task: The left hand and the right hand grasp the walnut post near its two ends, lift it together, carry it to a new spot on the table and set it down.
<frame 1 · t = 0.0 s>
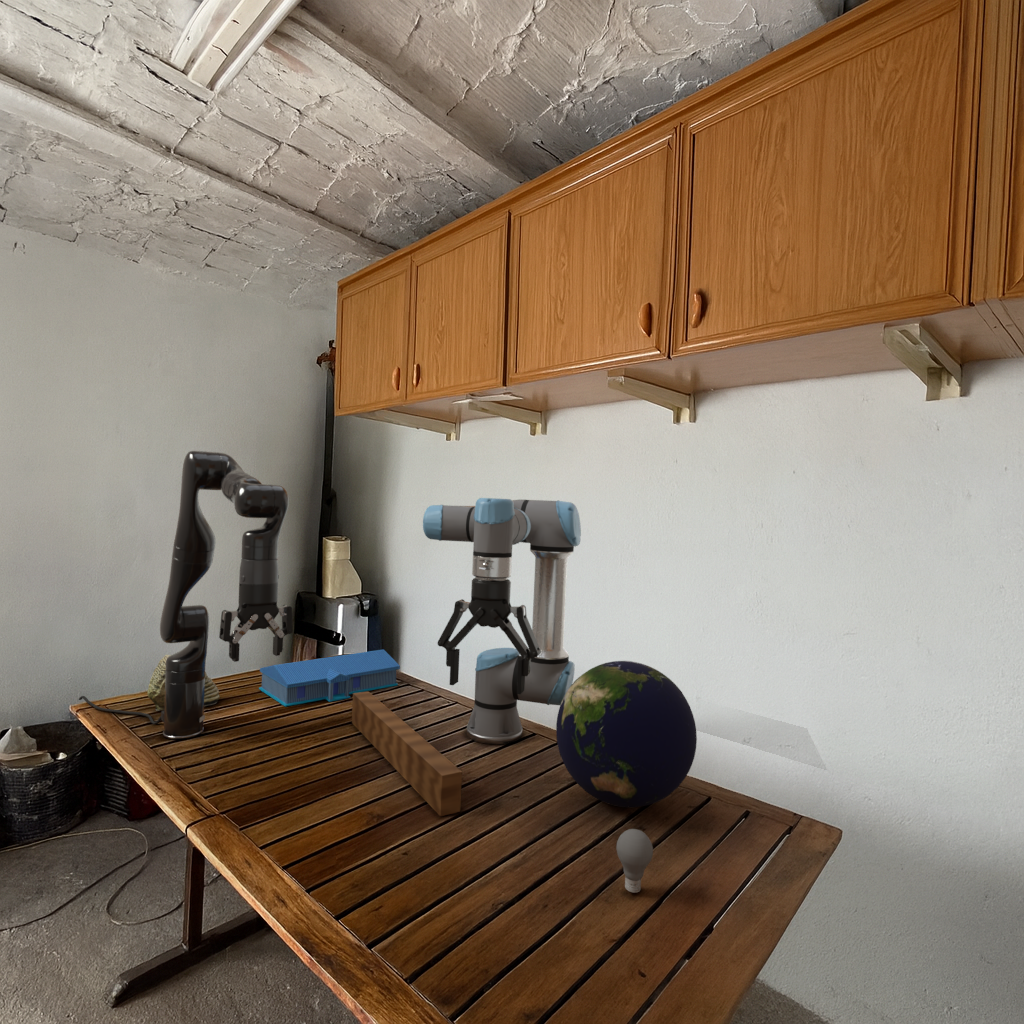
left hand: (256, 657, 132), 29 cm above the table, tool pointing down, fingers open, 8 cm apart
right hand: (486, 687, 122), 28 cm above the table, tool pointing down, fingers open, 13 cm apart
model building: (332, 688, 208), on the table
post: (397, 760, 154), on the table
light bulb: (632, 891, 106), on the table
globe: (621, 800, 138), on the table
fossil: (183, 706, 185), on the table
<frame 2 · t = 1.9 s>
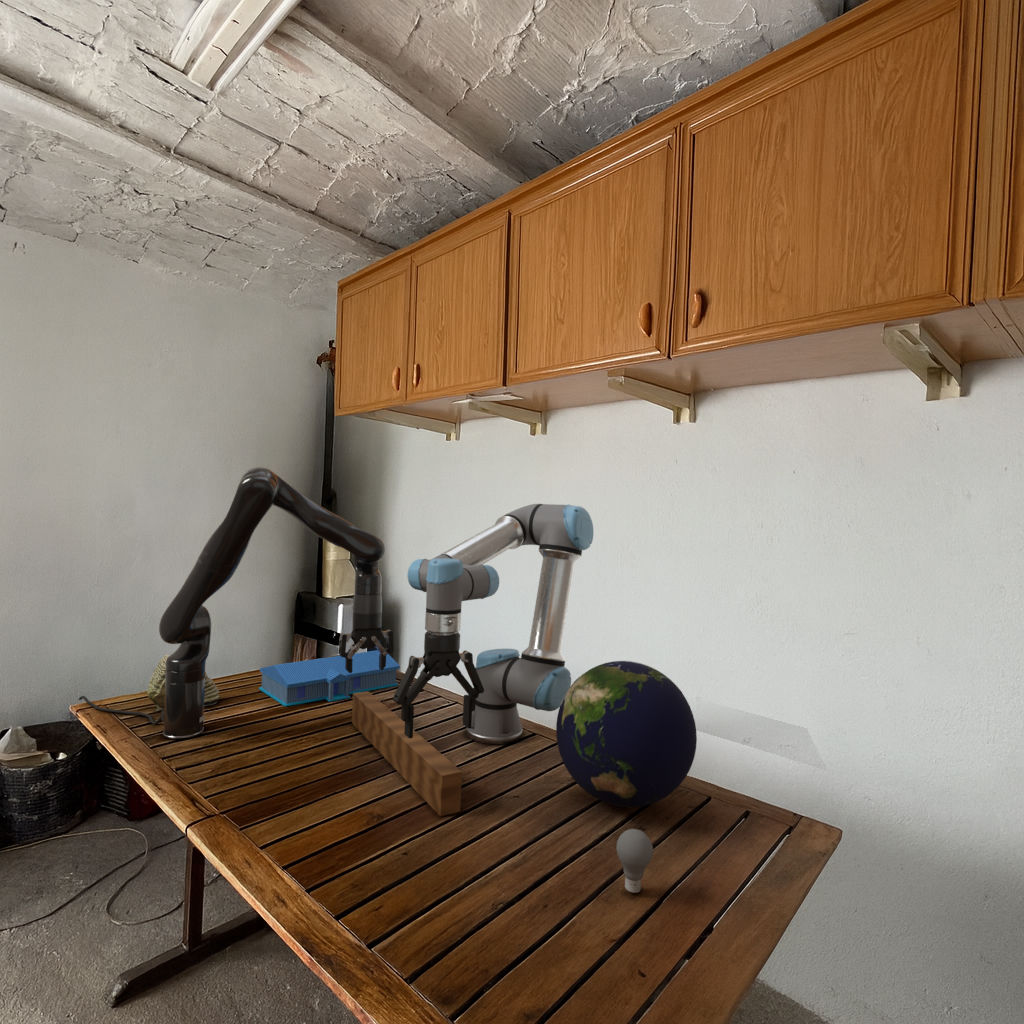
left hand: (365, 670, 169), 17 cm above the table, tool pointing down, fingers open, 8 cm apart
right hand: (438, 731, 135), 15 cm above the table, tool pointing down, fingers open, 13 cm apart
nothing on the table moved.
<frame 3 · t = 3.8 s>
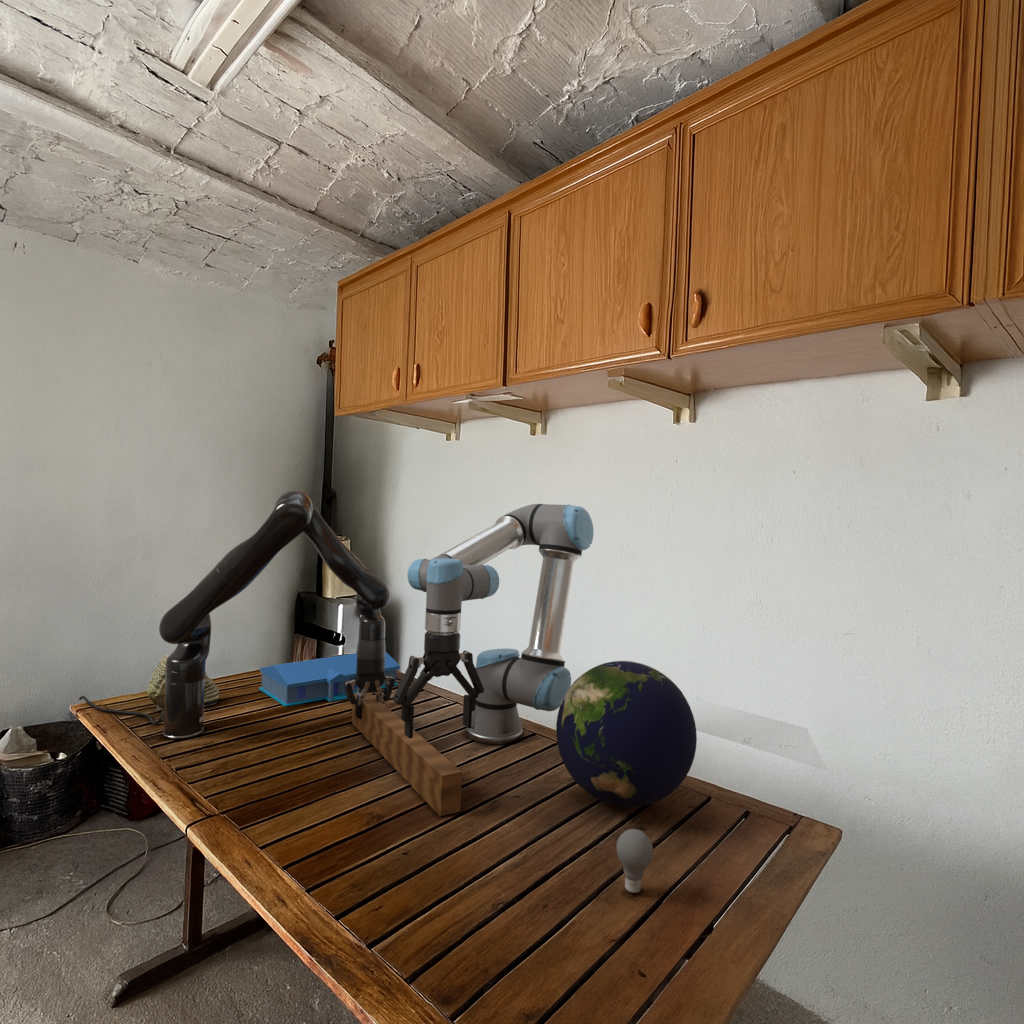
left hand: (368, 716, 172), 4 cm above the table, tool pointing down, fingers closed on post, 4 cm apart
right hand: (438, 731, 135), 15 cm above the table, tool pointing down, fingers open, 13 cm apart
post: (397, 760, 154), on the table, touching left hand
everything else where it was.
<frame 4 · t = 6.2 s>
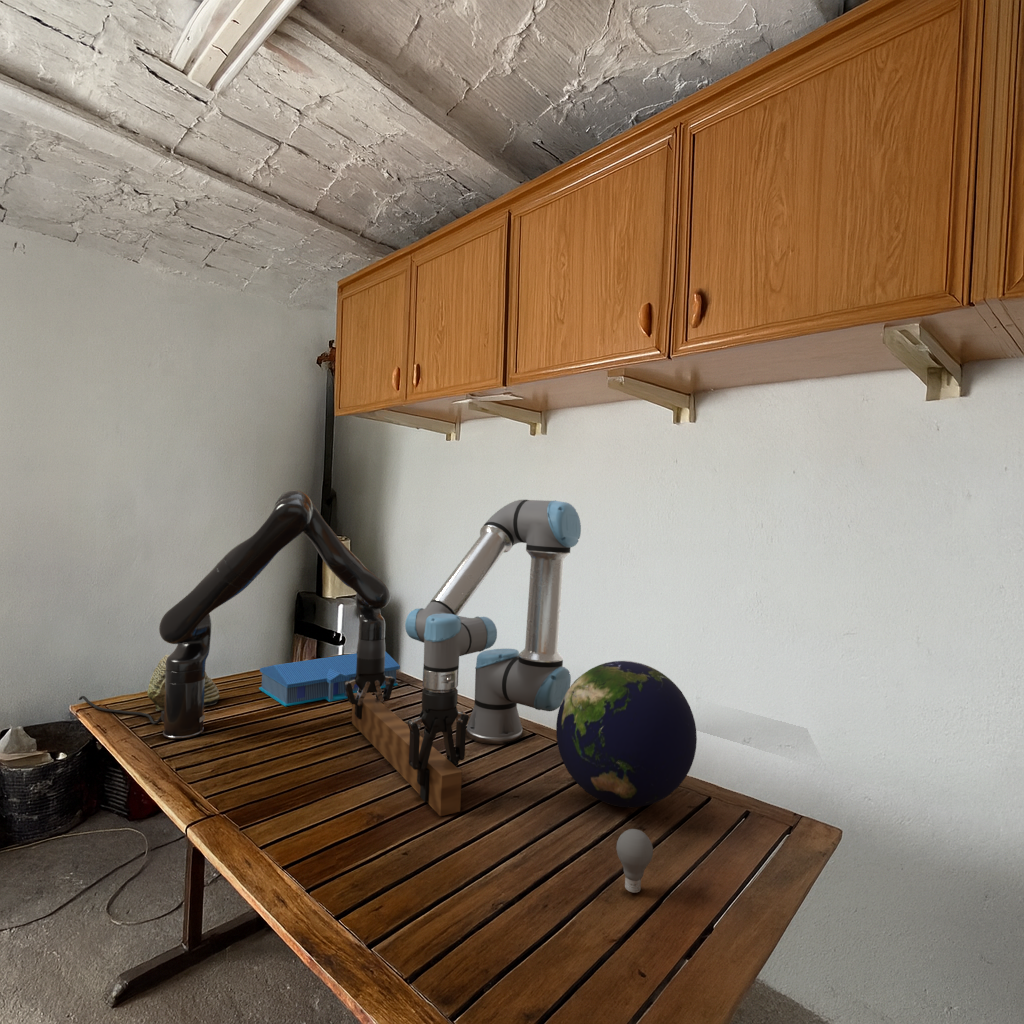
left hand: (368, 716, 172), 4 cm above the table, tool pointing down, fingers closed on post, 4 cm apart
right hand: (435, 796, 135), 1 cm above the table, tool pointing down, fingers closed on post, 5 cm apart
post: (397, 760, 154), on the table, touching left hand, right hand
everything else where it was.
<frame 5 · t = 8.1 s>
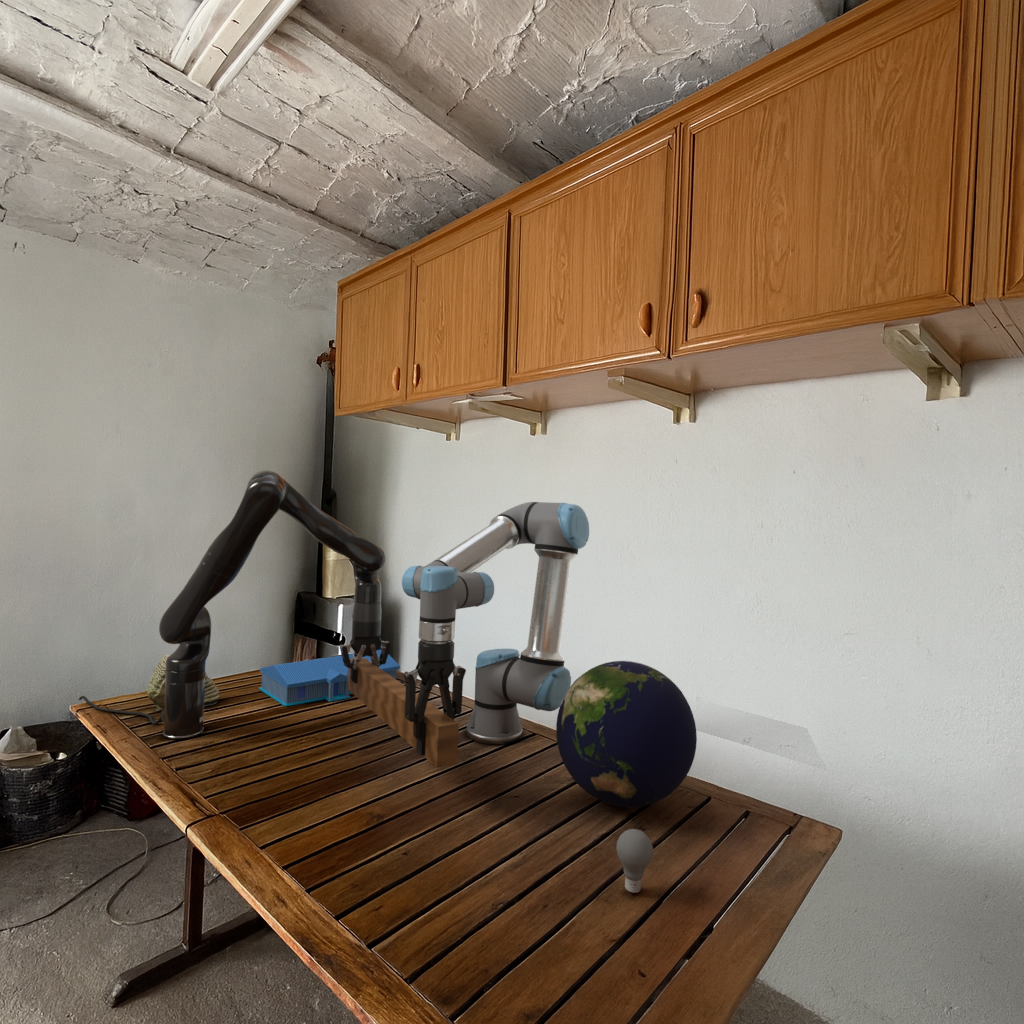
left hand: (364, 681, 171), 14 cm above the table, tool pointing down, fingers closed on post, 4 cm apart
right hand: (432, 750, 133), 11 cm above the table, tool pointing down, fingers closed on post, 5 cm apart
post: (393, 720, 152), point 10 cm above the table, touching left hand, right hand
everything else where it was.
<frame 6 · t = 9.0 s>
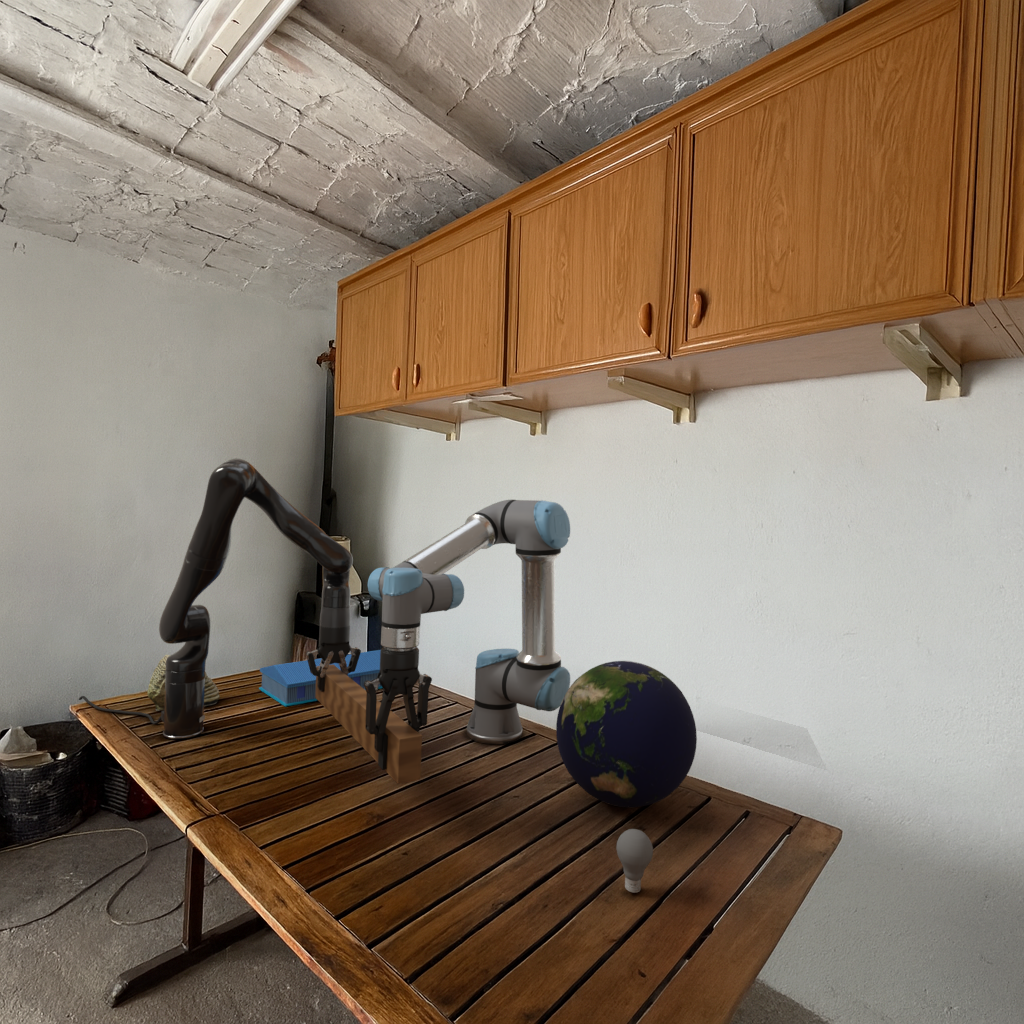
left hand: (332, 689, 162), 14 cm above the table, tool pointing down, fingers closed on post, 4 cm apart
right hand: (395, 764, 125), 11 cm above the table, tool pointing down, fingers closed on post, 5 cm apart
post: (359, 731, 144), point 10 cm above the table, touching left hand, right hand
everything else where it was.
when the right hand's fingers open (2 cm above the table, at t = 12.2 s): post drops 1 cm, on the table.
when the left hand's fingers open (5 cm above the table, at t = 12.3 s): post stays where it is, on the table.
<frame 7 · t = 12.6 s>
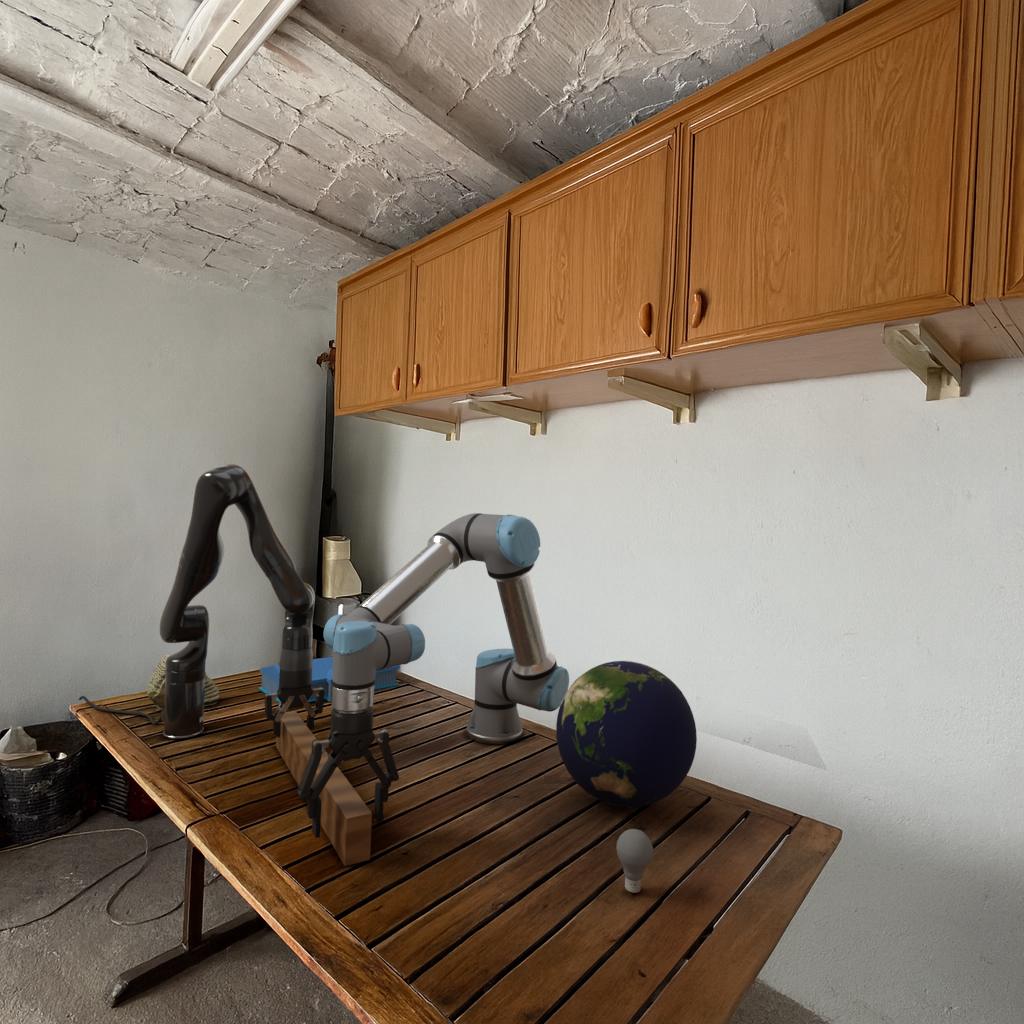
left hand: (293, 733, 154), 6 cm above the table, tool pointing down, fingers open, 6 cm apart
right hand: (347, 826, 116), 3 cm above the table, tool pointing down, fingers open, 11 cm apart
post: (314, 793, 135), on the table
everything else where it was.
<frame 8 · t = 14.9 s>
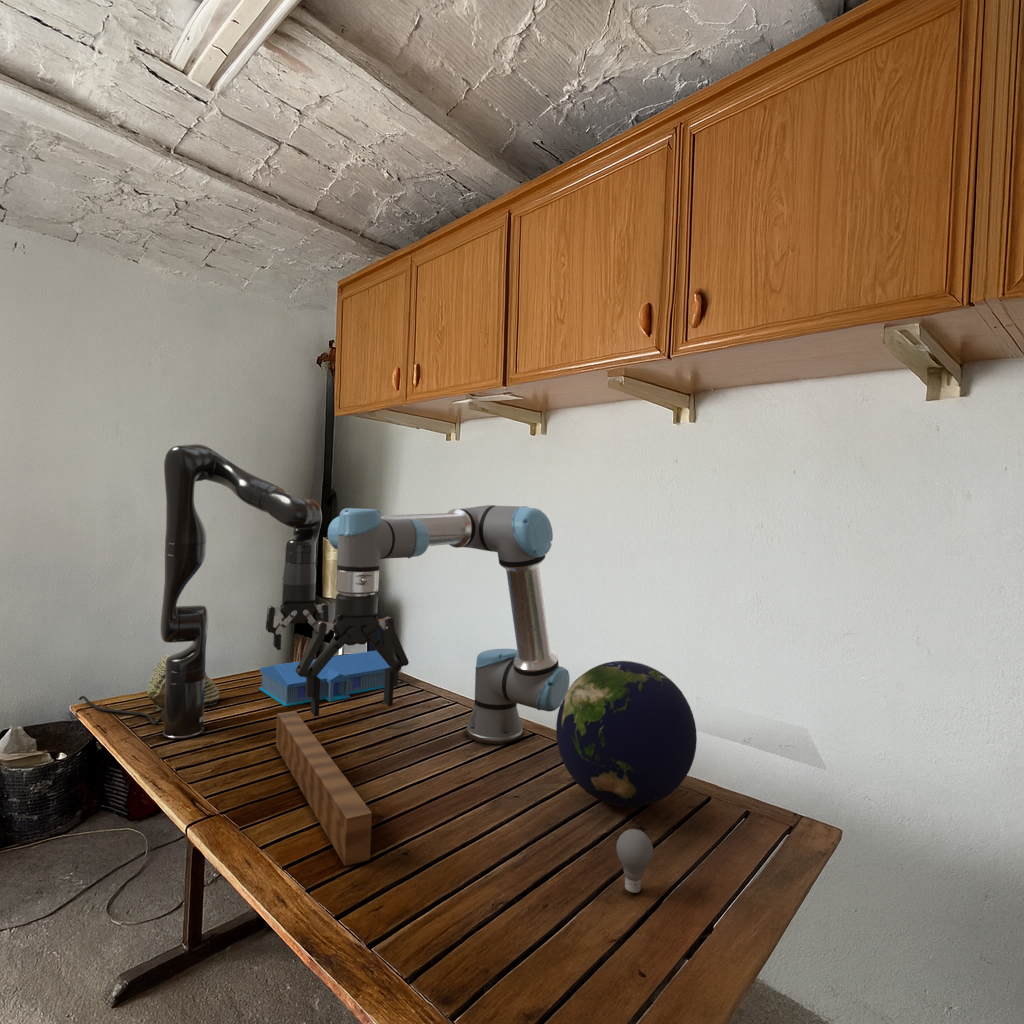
left hand: (296, 647, 153), 26 cm above the table, tool pointing down, fingers open, 8 cm apart
right hand: (352, 709, 116), 25 cm above the table, tool pointing down, fingers open, 13 cm apart
nothing on the table moved.
at the end: post inside the target area (0.5 cm from its centre), on the table; post tilted 0°; post never tilted more than 2° during the clip; both hands held the post at the same time; the left hand is holding nothing; the right hand is holding nothing; post at rest at the end (0.0 cm/s) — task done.
